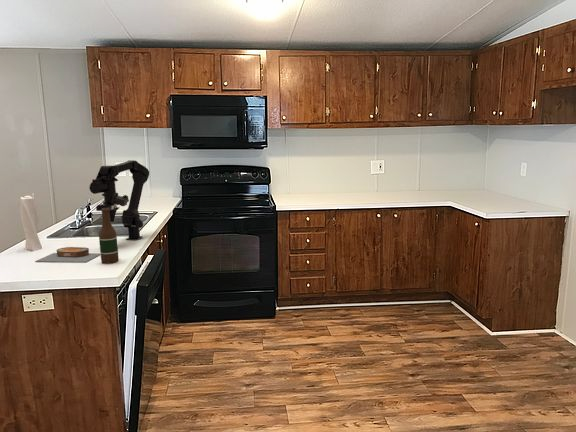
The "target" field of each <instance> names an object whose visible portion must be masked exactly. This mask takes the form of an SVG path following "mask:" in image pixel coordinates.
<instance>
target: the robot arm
mask: <svg viewBox="0 0 576 432" xmlns="http://www.w3.org/2000/svg"><path fill="white" fill-rule="evenodd" d="M126 171H128V172H129V173H130V174H131V175H132V176H131V178H132V180H133V181H132V182H133V185H132V190H131V193H130V198H129V196H128V195H127V194H123V196H122V195H121V196H120V195H119V193H118V192H117V191H116V189H117V188H116V182H118V181H119V180H118V179H117V178H116V177H117V176H118V175H119V174H120V173H124V172H126ZM149 177H150V171H149V169H148V168H147V167H146V166H144V165H143V164H141V163H139V162H138V161H137V160H134V159H132V160H130V159H129V160H127V161H124V162H121V163H117V164H114V165H102V166H100V168H99V170H98V173H97V174H96V178H95V179H94V178H93V179H91V181H92V182H90V185H89V187H88V188H89V191H90V192H91V193H92V194H94V195H96V194H101V196H102V197H103V200H104V201H102V203H99V204H97V205H96V207H95V208H96V211H97V212H102V211H101V209H102V208H109V209H110V211H109V213H110V220H111V223H114V222H115V218H116V215H117V214H116V213H117V211H118V210H119V209H120V207H125V206H128V207H127V209H123V211H122V215H121V222H122V224H123V227H124V228H127V230H128V231H127V233H128V237H126V238H125V239H126V240H127V241H128V240H130V241H133V240H140V239H141V238H143V236H142V235H140V234H141V232H140V229H141V228H143V226H144V222H143V221H142V220H141V219H140V212H139V206H140V201H141V196H142V193H143V188H144V185H145V183H146V182H147V181H148V179H149ZM128 202H129V203H128Z"/></svg>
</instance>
